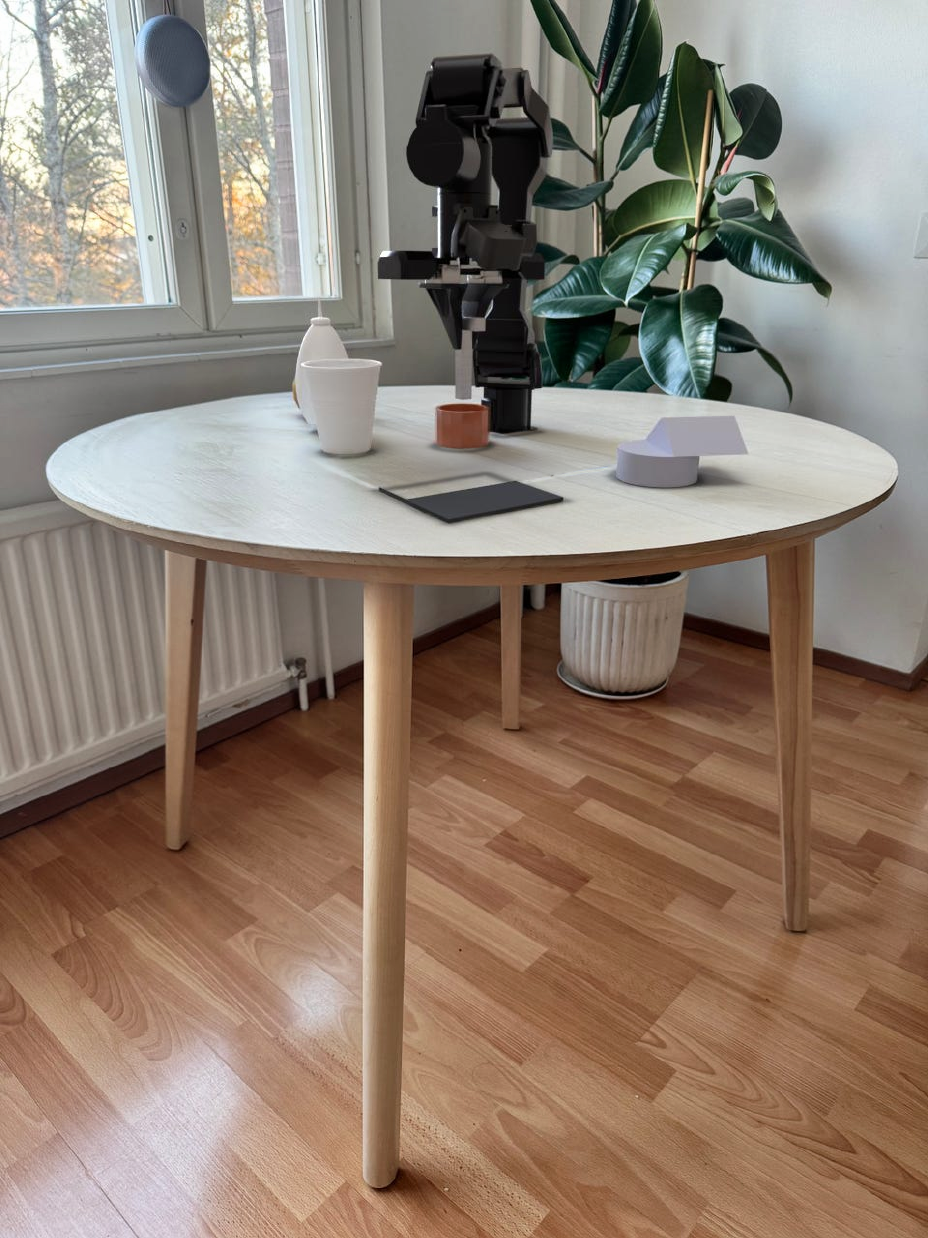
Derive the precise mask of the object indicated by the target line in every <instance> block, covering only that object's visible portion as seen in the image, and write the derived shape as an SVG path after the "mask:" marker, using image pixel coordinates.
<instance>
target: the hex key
mask: <svg viewBox="0 0 928 1238" xmlns="http://www.w3.org/2000/svg"><path fill="white" fill-rule="evenodd" d="M472 331H485V318H484V317H472V316H463V315H462V345H461V349H460V350H455V349H454V350H455V352H454V353H455V358H454V359H455V361H454V362H455V363H454V364H455V366H454V367H455V368H454V369H455V371H454V372H455V375H454V376H455V379H454V380H455V381H454V382H455V383H454V385H455V387H454V388H455V389H454V390H455V392H454V393H455V395H454V397H455V399H457V400H461V401H464V400H471V399H472V397H473V396H472V395H473V394H472V392H473V390H472V389H473V388H472V385H473V384H472V381H473V349H472Z"/></svg>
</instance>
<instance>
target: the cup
mask: <svg viewBox="0 0 928 1238" xmlns="http://www.w3.org/2000/svg"><path fill="white" fill-rule="evenodd" d="M301 367H302V368H303V370H304V374H305V379H306V383H307V387H308V392H309V396H310V400H311V404H312V408H313V412H314V416H315V420H316V424H317V429H318V431H317V435H318V439H319V443H320V448H321V451H322V452H324V453H327V454H331V455H355V454H362V453H366V452H369V451H370V450H371V447H372V439H373V430H374V421H375V414H376V413H375V412H376V403H377V396H378V388H379V382H380V381H379V380H380V371H381V367H383V362H381V361H378V360H375V359H367V358H349V359H322V360H313V361H307V362H304V363H302V364H301Z"/></svg>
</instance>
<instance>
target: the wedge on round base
mask: <svg viewBox="0 0 928 1238" xmlns="http://www.w3.org/2000/svg"><path fill="white" fill-rule="evenodd" d="M737 455H738V456H739V455H740V456H741V455H742V456H744V455H749V451H748V449H747V446H746V443H745V440H744V437H743V435H742V432H741V429H740V427H739V424H738V421H737V419H736V416H735V415H706V416H673V417H672V416H670V417H667V416H666V417H661V418H660V419H659V421H658V422H657V423H656V424H655V426H654V427H653V429H652V430H651V431H650V432H649V434H648V435H647V436H646V438H645V439H635V440H628V441H624V442H621V443H619V444H618V446H617V457H616V470H615V478H616V479H618V480H619V481H621V482H624V483H627V484H630V485H633V486H634V485H635V486H639V487H648V488H681V487H687V486H691V485H693V484H695V483H696V482H697V481H698V473H699V465H700V457H709V456H710V457H711V456H737Z"/></svg>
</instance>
